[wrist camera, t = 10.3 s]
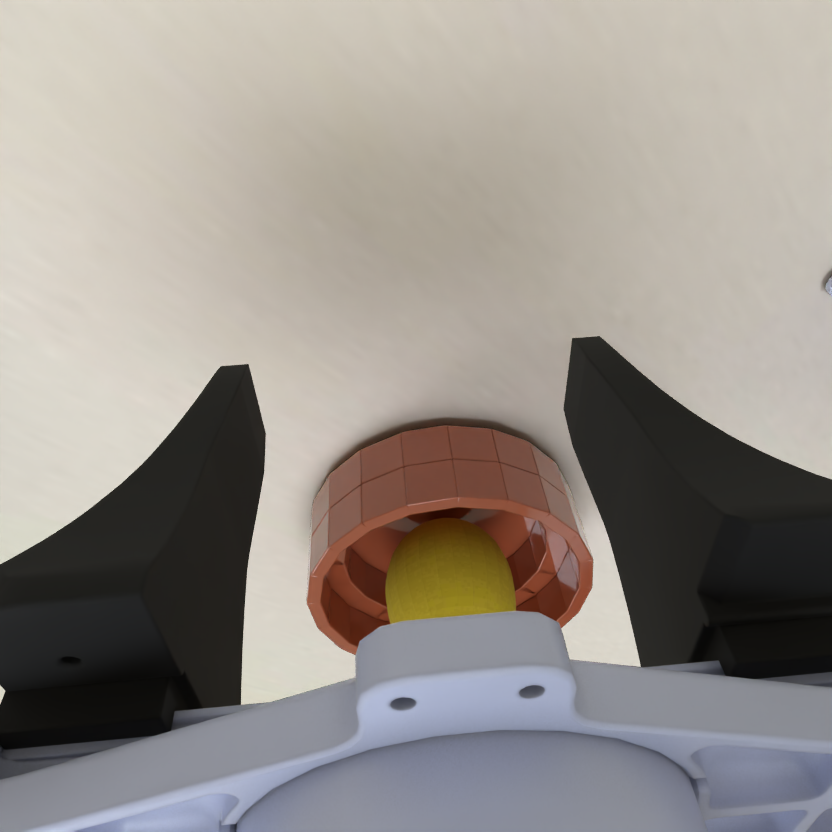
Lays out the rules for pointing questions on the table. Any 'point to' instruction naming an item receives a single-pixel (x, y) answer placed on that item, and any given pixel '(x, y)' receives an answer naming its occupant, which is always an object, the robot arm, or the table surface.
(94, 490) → the table surface
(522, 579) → the bowl
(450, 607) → the lemon
